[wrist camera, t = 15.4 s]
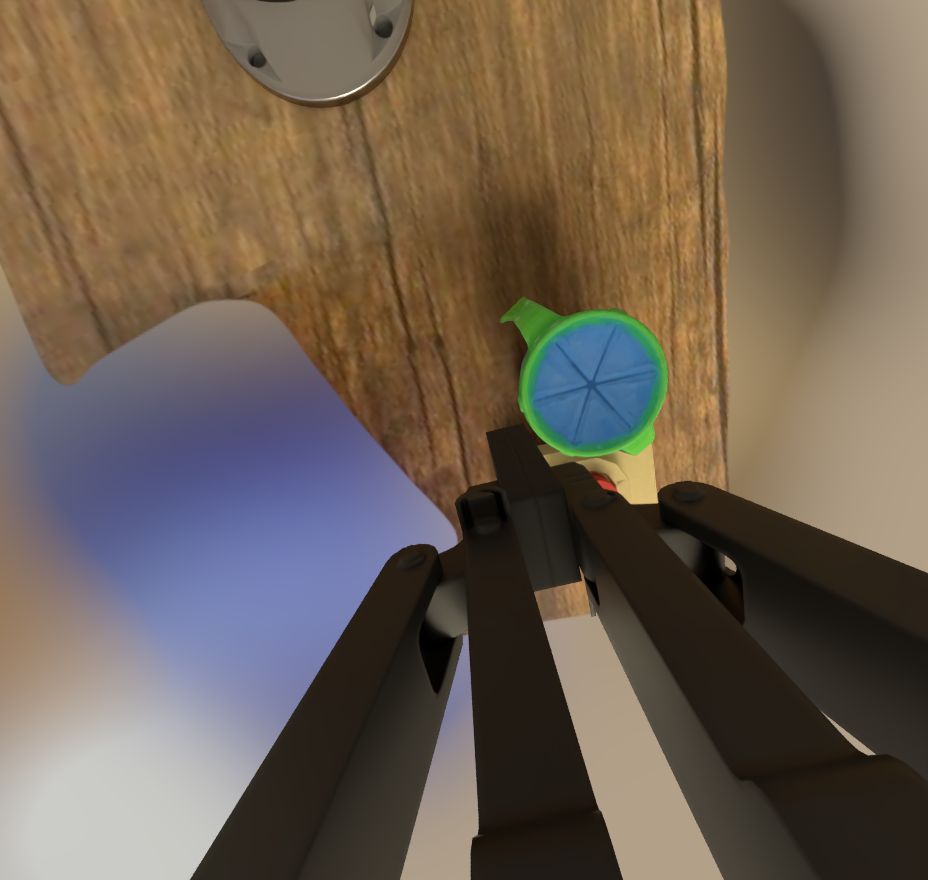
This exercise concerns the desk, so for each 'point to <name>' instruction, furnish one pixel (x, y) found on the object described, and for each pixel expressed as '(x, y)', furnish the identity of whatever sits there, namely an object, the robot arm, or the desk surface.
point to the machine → (616, 471)
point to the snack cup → (589, 379)
